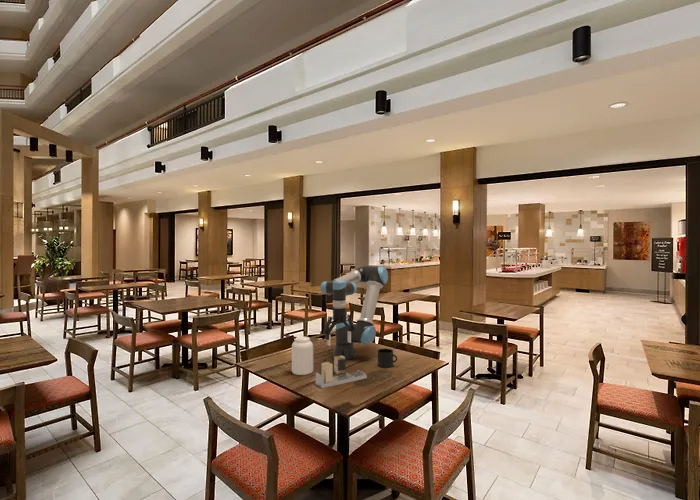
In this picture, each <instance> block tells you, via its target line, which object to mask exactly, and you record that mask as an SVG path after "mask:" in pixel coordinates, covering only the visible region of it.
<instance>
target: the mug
mask: <svg viewBox="0 0 700 500" xmlns="http://www.w3.org/2000/svg"><path fill="white" fill-rule="evenodd" d="M394 357H395V360H394ZM397 361H398V357H397V355H396V354H394V350H392V349H390V348H379V349H378V350H377V365H378V367H379V368H383V369H384V368H385V369H388V368H392V367H393V366H394V363H396V362H397Z"/></svg>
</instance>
